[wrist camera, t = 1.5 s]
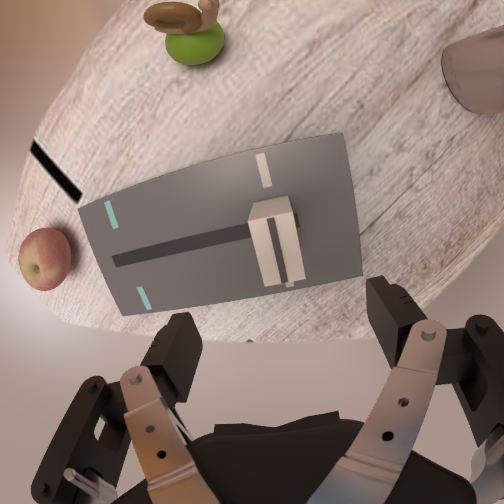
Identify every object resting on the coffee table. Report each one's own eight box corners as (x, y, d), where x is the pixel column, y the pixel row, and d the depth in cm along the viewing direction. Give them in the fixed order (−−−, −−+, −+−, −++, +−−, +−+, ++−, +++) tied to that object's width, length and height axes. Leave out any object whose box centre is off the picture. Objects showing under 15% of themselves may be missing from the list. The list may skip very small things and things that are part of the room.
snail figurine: (234, 72, 22) (206, 24, 11) (172, 71, 22) (111, 35, 11) (241, 28, 20) (221, -36, 9) (181, 28, 20) (131, -24, 9)
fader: (287, 195, 23) (292, 212, 17) (298, 248, 25) (305, 279, 19) (253, 202, 23) (247, 221, 18) (266, 254, 25) (264, 287, 19)
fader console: (334, 133, 24) (342, 132, 21) (355, 263, 29) (363, 275, 26) (92, 202, 28) (77, 209, 25) (132, 303, 33) (122, 316, 30)
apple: (79, 281, 33) (46, 311, 25) (44, 256, 32) (10, 280, 24) (88, 234, 30) (48, 260, 22) (50, 210, 29) (9, 228, 21)
